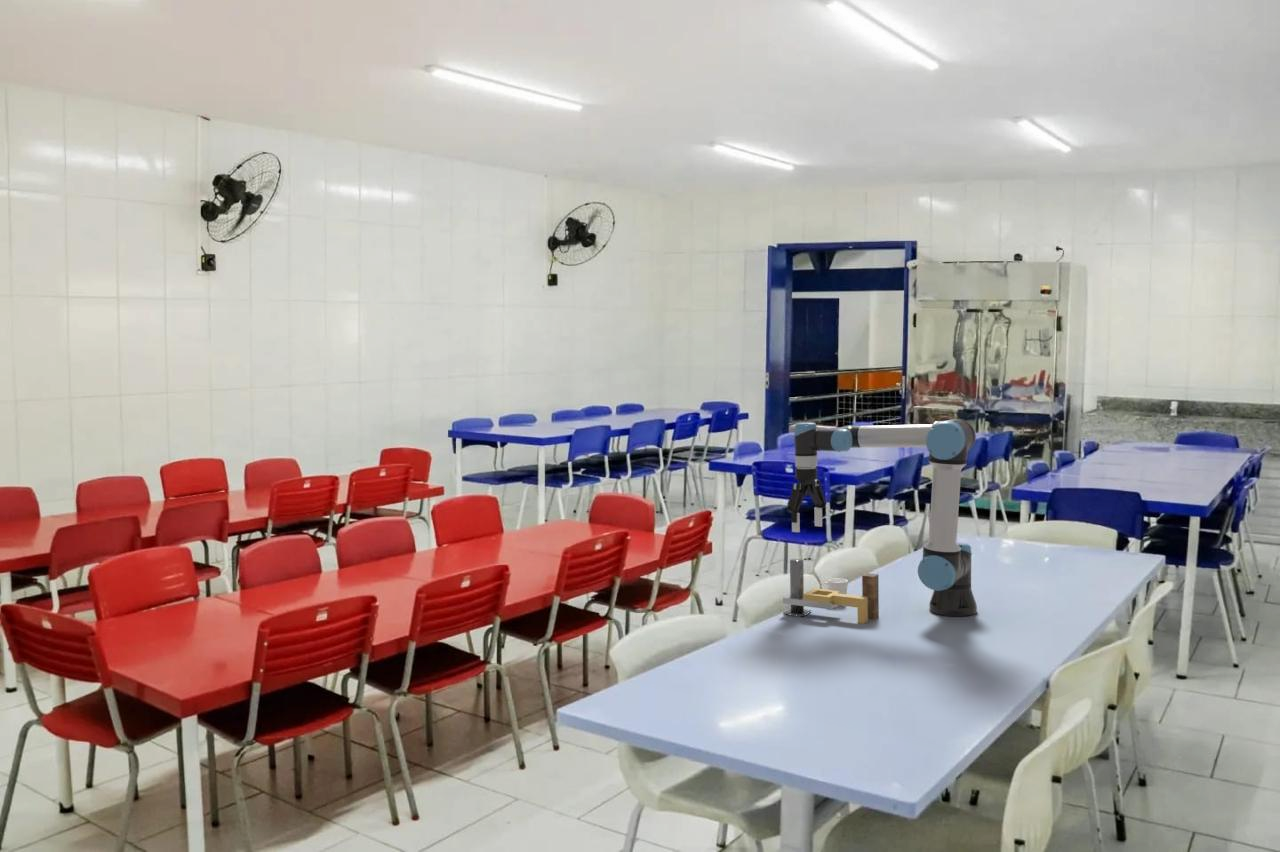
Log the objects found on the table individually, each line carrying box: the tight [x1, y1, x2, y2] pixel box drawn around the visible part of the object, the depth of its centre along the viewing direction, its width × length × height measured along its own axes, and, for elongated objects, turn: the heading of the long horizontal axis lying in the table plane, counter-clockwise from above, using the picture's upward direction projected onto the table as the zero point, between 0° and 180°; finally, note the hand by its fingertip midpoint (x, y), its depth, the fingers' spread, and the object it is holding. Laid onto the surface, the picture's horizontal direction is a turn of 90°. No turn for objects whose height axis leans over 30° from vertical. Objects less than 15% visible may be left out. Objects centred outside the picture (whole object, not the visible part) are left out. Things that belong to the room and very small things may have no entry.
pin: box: [861, 572, 880, 620], centre depth 345 cm, size 4×4×14 cm
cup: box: [819, 577, 849, 594], centre depth 365 cm, size 7×10×8 cm
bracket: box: [804, 588, 869, 625], centre depth 345 cm, size 20×9×8 cm, turn 57°
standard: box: [782, 558, 839, 617], centre depth 349 cm, size 18×9×18 cm, turn 57°
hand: (807, 529), depth 362 cm, fingers open, 13 cm apart
